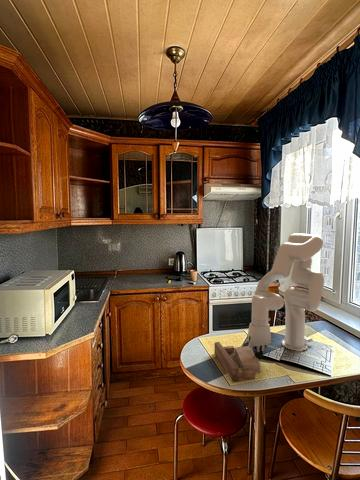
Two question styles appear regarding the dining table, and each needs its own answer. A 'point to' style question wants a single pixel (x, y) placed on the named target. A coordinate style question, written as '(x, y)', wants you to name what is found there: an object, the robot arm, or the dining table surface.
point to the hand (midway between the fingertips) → (259, 358)
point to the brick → (247, 359)
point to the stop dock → (231, 364)
